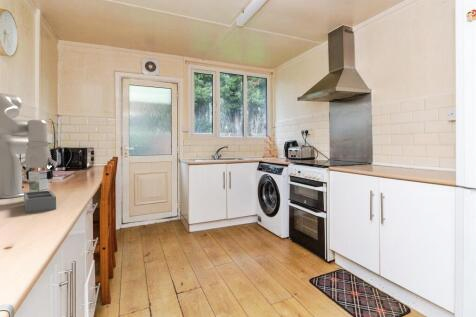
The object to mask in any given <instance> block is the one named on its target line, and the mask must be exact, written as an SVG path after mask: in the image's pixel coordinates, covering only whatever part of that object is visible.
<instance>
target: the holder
mask: <svg viewBox="0 0 476 317" xmlns="http://www.w3.org/2000/svg"><path fill="white" fill-rule="evenodd" d="M23 207H24V210H25V214H29V213H37V212H44V211H45V212H46V211H52V210H57V196H56V195H55V193H54V192H53V191H52V190H48V191H37V192H29V191H27V192H26V193H24V196H23Z"/></svg>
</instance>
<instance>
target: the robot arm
mask: <svg viewBox="0 0 476 317" xmlns="http://www.w3.org/2000/svg"><path fill="white" fill-rule="evenodd" d="M22 107H23V106H22V100H21V99H20V97H18V96H17V95H14V94H8V93H2V92H0V199H12V198H19V197H24V193H26V192H25V191H23V176H22V174H23V172H22V169H23V170H24V172H26V174H25V175H26V181H29V172H30V171H33V169H43V168H45V169H46V171H47V179H48V180H52V179H53V177H54V171H55V169H56V168H57V166H58V162H57V161H56V160H54V159H52V155H51V149H50V147H49V146H48V145H49V143H48V125H47V121H45V120H43V119H30V120H26V119H16V118H17V117H18V116H20V115H19V114H20V110H21V108H22ZM18 155H25V156H24V160H23V161H21V160H20V158H19V157H18Z"/></svg>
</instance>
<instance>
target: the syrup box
mask: <svg viewBox="0 0 476 317" xmlns="http://www.w3.org/2000/svg"><path fill="white" fill-rule="evenodd" d="M47 171H48V170H31V171H30V172H29V180H28V186H29V187H28V188H29V189H28V192H37V191H48V190H49V188H50V187H49V185H50V184H49V179H47Z"/></svg>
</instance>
